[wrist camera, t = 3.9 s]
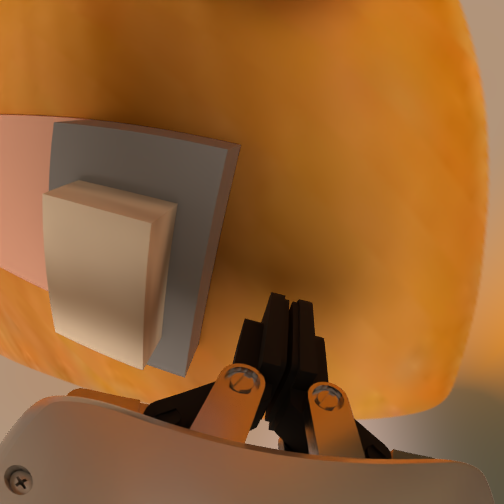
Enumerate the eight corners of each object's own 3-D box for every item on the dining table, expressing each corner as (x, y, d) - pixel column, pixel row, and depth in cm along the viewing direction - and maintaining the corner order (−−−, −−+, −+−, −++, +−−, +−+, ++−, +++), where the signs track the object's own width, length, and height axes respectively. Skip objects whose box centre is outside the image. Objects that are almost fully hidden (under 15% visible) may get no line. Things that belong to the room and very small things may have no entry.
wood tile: (78, 180, 12) (42, 193, 9) (177, 203, 12) (151, 223, 9) (80, 306, 15) (55, 332, 12) (161, 337, 15) (142, 370, 12)
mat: (-10, 114, 14) (-14, 115, 13) (89, 119, 14) (85, 119, 13) (-6, 260, 19) (-9, 262, 18) (83, 302, 18) (80, 305, 18)
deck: (89, 119, 14) (53, 122, 11) (240, 144, 13) (227, 149, 11) (83, 302, 18) (59, 327, 16) (198, 343, 18) (184, 377, 16)
